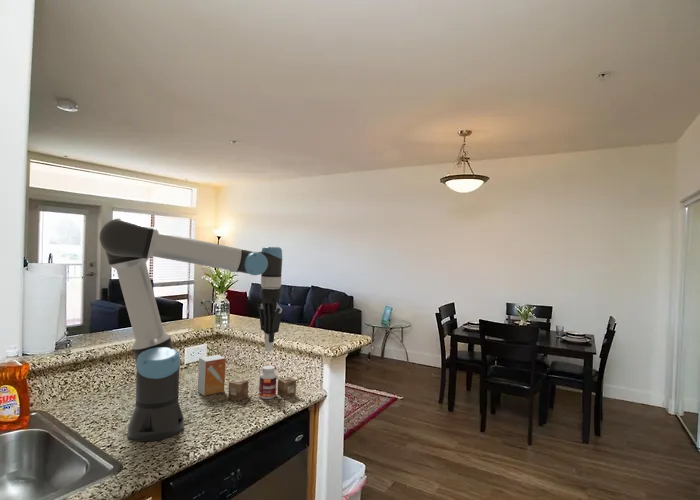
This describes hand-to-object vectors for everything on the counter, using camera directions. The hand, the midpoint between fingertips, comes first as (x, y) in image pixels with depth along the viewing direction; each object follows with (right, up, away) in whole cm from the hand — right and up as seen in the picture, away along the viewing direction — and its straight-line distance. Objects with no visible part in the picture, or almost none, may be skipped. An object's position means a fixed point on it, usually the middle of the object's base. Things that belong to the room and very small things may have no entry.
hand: (268, 350), depth 148 cm
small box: (-23, -17, +3) cm, 29 cm away
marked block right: (+6, -18, +2) cm, 19 cm away
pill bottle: (-1, -18, 0) cm, 18 cm away
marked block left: (-11, -17, -2) cm, 20 cm away
